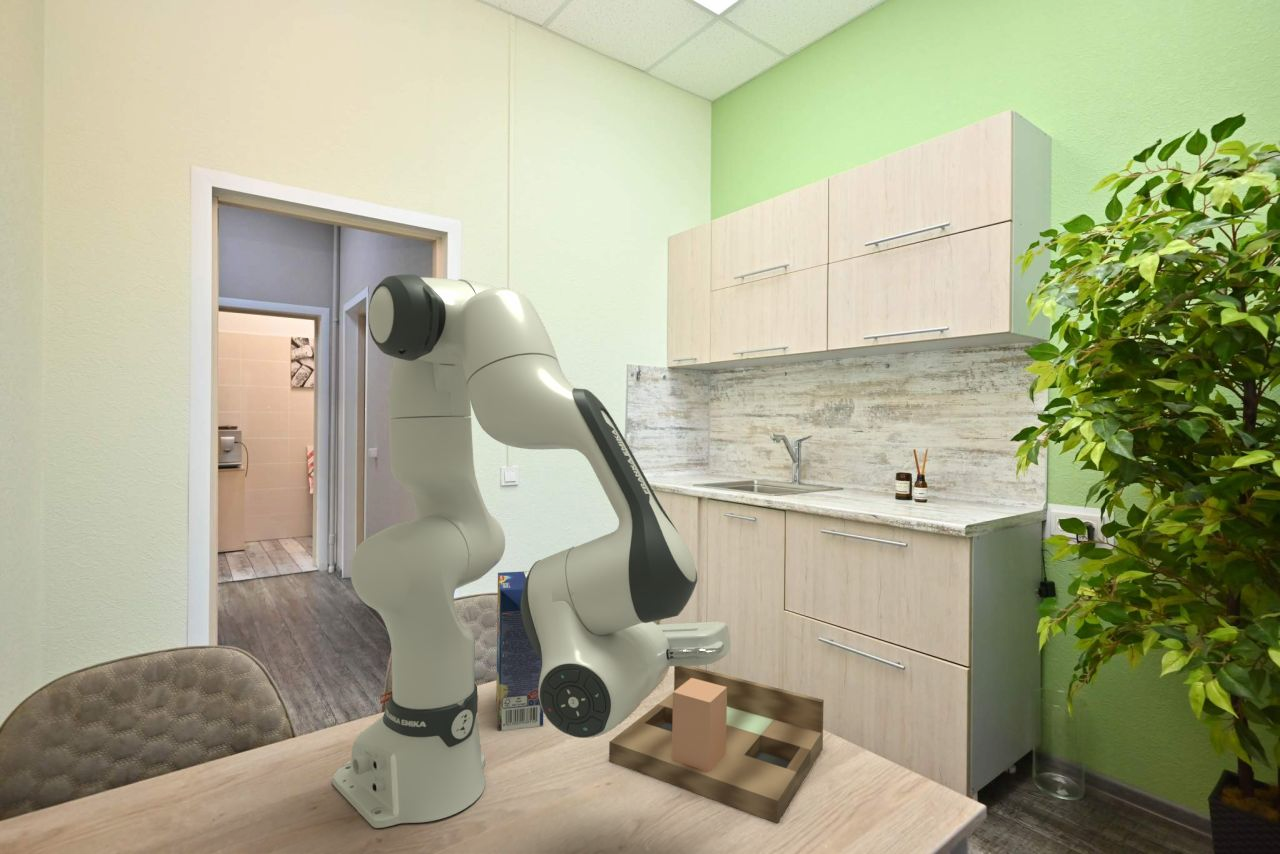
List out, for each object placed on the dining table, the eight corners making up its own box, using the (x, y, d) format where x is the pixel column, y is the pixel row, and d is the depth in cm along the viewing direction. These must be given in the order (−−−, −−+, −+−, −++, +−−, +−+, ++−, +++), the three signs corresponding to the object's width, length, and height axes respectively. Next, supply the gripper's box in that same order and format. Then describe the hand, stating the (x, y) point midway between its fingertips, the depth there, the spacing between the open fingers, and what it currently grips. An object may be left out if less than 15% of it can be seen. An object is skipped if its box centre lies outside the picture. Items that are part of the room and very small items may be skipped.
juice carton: (543, 726, 106) (545, 587, 105) (498, 731, 104) (500, 590, 103) (536, 695, 117) (537, 570, 117) (496, 699, 115) (497, 572, 115)
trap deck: (609, 760, 95) (609, 709, 95) (676, 705, 114) (677, 662, 114) (777, 823, 81) (778, 763, 81) (822, 748, 100) (823, 699, 100)
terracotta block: (671, 759, 91) (673, 692, 91) (690, 741, 96) (691, 677, 96) (708, 772, 88) (710, 702, 87) (725, 753, 93) (727, 687, 92)
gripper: (715, 624, 68) (736, 602, 81) (549, 632, 74) (594, 610, 87) (722, 683, 67) (742, 651, 80) (554, 686, 73) (598, 656, 87)
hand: (663, 630), depth 84 cm, fingers open, 8 cm apart
